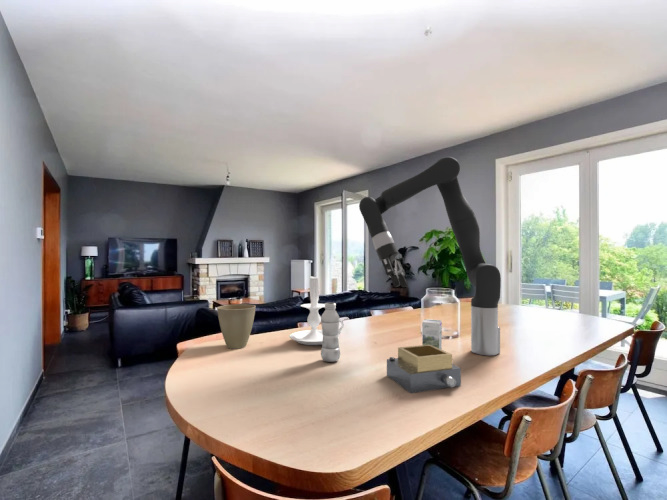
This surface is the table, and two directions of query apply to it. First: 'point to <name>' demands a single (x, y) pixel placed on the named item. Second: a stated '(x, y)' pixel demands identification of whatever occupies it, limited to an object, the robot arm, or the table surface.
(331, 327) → the plastic bottle
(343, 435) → the table surface
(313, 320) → the candlestick
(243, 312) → the plant pot
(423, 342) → the syrup box
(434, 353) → the grey square holder
